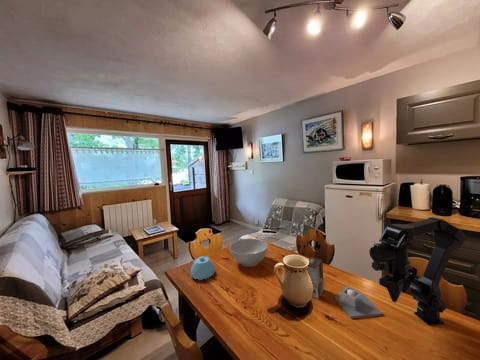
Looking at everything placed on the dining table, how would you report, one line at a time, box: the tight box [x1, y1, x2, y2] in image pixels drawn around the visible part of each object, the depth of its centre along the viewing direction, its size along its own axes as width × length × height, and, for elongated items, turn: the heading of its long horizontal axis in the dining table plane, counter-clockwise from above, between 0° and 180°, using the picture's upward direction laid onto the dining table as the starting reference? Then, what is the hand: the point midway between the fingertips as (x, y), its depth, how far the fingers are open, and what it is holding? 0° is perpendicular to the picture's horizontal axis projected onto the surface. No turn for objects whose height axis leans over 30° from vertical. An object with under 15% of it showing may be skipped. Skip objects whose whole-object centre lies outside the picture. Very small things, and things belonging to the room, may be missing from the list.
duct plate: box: [334, 289, 384, 320], centre depth 89 cm, size 14×13×6 cm
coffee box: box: [307, 256, 325, 299], centre depth 100 cm, size 9×6×16 cm
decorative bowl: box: [229, 238, 269, 268], centre depth 136 cm, size 27×27×12 cm
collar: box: [338, 285, 364, 311], centre depth 90 cm, size 7×7×5 cm
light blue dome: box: [190, 255, 216, 281], centre depth 125 cm, size 15×15×12 cm
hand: (399, 296), depth 77 cm, fingers open, 9 cm apart
